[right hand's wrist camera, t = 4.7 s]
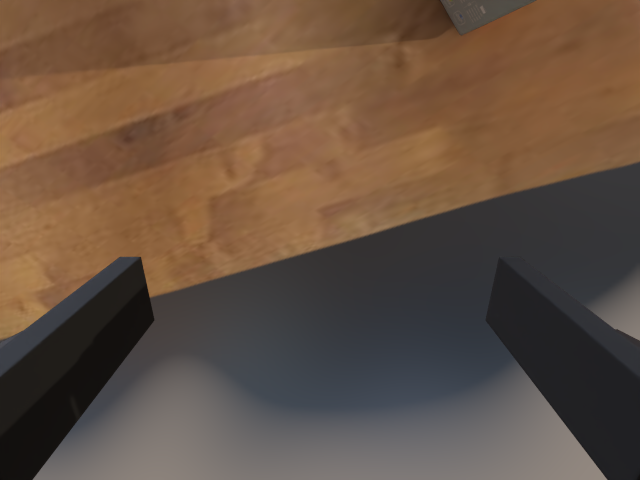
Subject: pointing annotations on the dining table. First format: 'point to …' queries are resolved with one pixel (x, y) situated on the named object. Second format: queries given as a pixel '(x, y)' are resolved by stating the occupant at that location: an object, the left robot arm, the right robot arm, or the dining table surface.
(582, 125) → the dining table surface
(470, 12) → the hard drive box
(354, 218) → the dining table surface
